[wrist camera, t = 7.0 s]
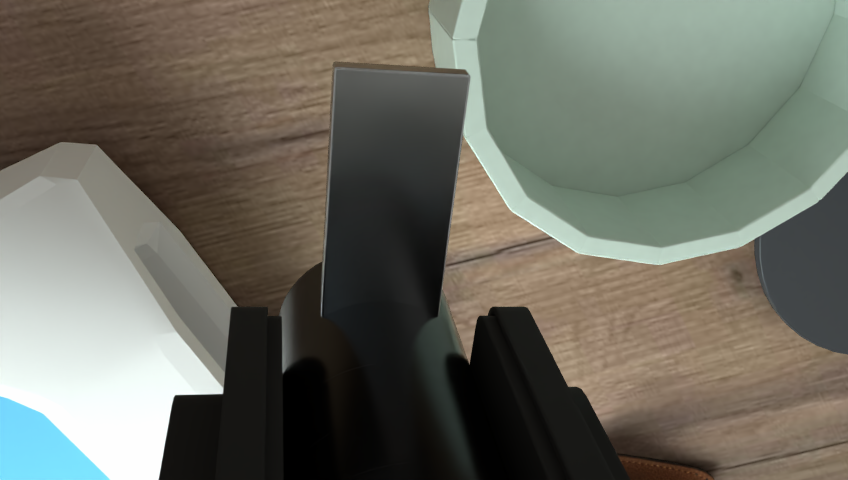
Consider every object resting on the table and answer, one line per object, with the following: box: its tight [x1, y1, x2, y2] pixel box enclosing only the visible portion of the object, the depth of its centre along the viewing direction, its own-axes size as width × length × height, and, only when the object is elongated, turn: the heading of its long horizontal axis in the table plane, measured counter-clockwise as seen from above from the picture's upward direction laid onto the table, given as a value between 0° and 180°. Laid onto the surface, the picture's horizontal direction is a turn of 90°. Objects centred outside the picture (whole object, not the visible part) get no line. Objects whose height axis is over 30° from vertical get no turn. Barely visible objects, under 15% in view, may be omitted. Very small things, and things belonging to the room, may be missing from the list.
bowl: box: [429, 0, 848, 265], centre depth 28 cm, size 17×17×5 cm
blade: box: [279, 62, 510, 480], centre depth 11 cm, size 10×3×7 cm, turn 173°
